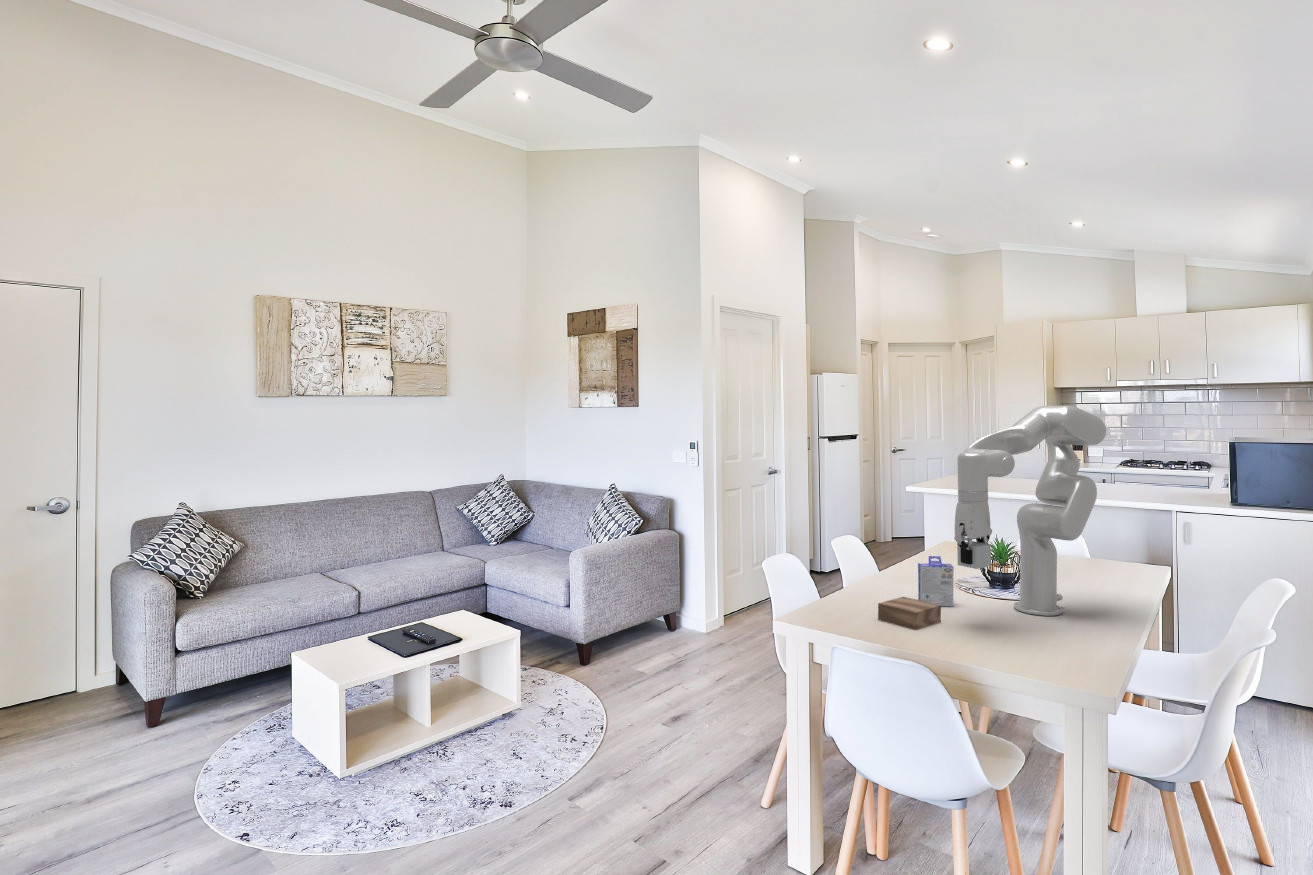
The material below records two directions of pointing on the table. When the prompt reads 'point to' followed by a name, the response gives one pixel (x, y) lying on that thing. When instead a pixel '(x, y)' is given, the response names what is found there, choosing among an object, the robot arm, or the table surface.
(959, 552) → the grey block
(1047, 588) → the robot arm
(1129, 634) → the table surface
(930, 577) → the ink cartridge box
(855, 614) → the table surface
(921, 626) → the walnut block
